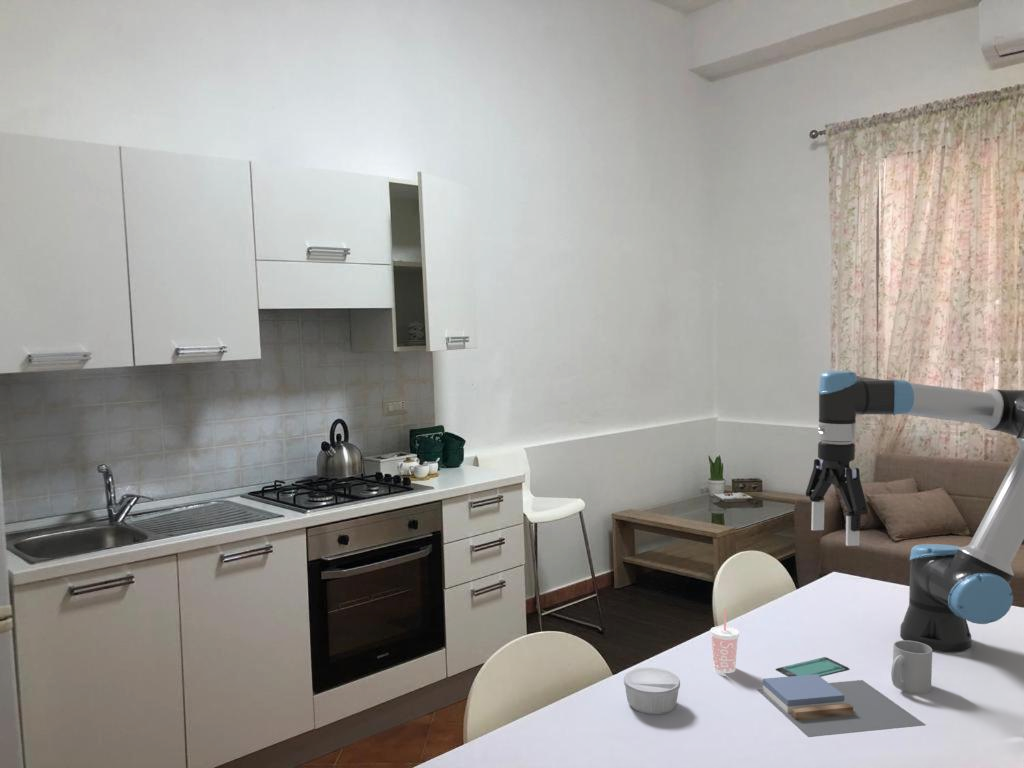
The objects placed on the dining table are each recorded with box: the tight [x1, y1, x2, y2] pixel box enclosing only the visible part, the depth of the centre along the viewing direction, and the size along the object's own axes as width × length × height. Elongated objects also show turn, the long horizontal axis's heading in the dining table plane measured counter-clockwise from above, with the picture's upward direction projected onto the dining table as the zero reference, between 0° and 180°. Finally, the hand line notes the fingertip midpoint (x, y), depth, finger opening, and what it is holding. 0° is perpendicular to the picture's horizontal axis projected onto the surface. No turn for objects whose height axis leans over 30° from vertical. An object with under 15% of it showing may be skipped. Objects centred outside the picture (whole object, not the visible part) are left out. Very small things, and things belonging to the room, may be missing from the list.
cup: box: [890, 639, 933, 695], centre depth 169 cm, size 7×10×9 cm
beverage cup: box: [710, 607, 740, 676], centre depth 179 cm, size 6×6×14 cm
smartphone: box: [775, 656, 850, 678], centre depth 179 cm, size 7×1×15 cm
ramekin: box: [623, 667, 681, 715], centre depth 164 cm, size 11×11×5 cm
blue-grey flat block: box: [762, 674, 844, 713], centre depth 164 cm, size 12×2×10 cm
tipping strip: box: [791, 704, 853, 720], centre depth 157 cm, size 12×2×2 cm, turn 100°
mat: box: [756, 679, 927, 738], centre depth 161 cm, size 24×20×1 cm
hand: (834, 537), depth 181 cm, fingers open, 13 cm apart
